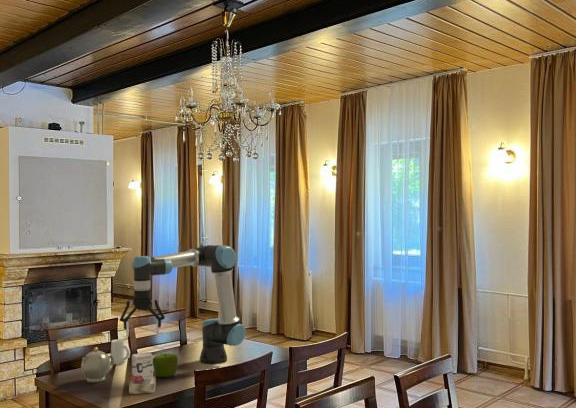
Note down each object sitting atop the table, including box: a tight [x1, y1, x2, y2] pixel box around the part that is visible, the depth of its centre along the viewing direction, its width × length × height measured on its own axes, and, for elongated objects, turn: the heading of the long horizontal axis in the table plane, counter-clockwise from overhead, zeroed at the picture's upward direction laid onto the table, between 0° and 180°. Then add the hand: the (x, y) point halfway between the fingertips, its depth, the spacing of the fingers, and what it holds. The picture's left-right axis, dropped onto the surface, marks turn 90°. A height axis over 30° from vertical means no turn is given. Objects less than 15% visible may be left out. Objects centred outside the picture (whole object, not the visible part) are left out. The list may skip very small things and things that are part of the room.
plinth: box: [128, 375, 157, 395], centre depth 265 cm, size 11×13×4 cm
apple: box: [153, 353, 179, 379], centre depth 287 cm, size 12×12×11 cm
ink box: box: [131, 351, 154, 382], centre depth 265 cm, size 8×5×12 cm, turn 124°
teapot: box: [80, 346, 115, 384], centre depth 281 cm, size 18×14×16 cm
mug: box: [110, 338, 131, 365], centre depth 315 cm, size 8×12×12 cm
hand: (142, 335), depth 266 cm, fingers open, 13 cm apart
